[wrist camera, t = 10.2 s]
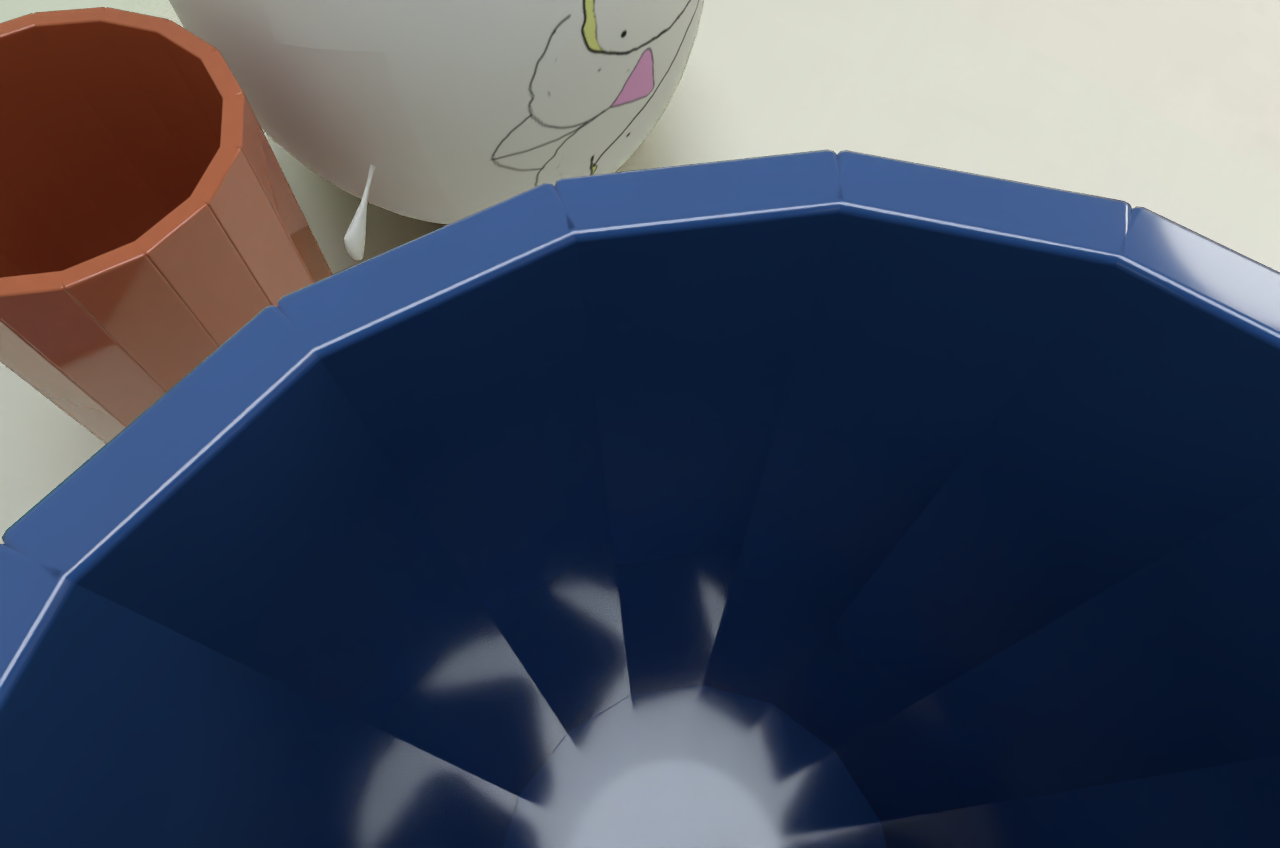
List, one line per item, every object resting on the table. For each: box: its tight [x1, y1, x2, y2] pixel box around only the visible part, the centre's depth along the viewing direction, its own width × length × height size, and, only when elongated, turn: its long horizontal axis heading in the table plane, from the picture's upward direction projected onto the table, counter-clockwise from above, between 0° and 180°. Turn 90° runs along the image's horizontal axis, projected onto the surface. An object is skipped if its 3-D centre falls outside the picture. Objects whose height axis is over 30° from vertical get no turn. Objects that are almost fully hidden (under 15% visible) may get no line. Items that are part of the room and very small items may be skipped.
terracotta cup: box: [0, 7, 333, 444], centre depth 20 cm, size 7×7×11 cm
